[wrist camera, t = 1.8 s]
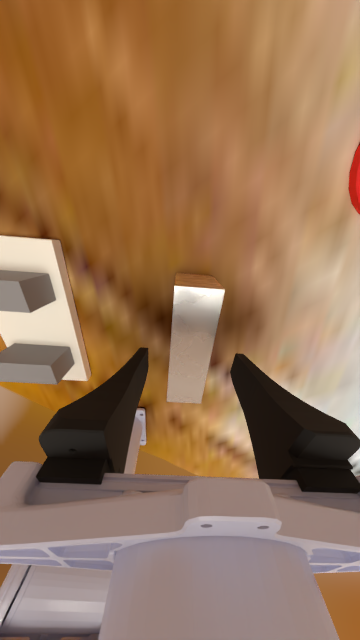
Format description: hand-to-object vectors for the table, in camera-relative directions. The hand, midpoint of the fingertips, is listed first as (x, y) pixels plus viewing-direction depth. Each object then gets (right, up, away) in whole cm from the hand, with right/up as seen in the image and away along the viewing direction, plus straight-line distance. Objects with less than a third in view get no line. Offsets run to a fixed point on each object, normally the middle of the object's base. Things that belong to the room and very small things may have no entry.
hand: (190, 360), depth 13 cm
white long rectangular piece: (0, +2, +5) cm, 6 cm away
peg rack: (-16, +3, +4) cm, 17 cm away
